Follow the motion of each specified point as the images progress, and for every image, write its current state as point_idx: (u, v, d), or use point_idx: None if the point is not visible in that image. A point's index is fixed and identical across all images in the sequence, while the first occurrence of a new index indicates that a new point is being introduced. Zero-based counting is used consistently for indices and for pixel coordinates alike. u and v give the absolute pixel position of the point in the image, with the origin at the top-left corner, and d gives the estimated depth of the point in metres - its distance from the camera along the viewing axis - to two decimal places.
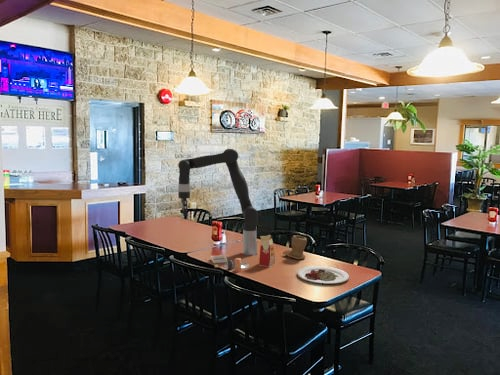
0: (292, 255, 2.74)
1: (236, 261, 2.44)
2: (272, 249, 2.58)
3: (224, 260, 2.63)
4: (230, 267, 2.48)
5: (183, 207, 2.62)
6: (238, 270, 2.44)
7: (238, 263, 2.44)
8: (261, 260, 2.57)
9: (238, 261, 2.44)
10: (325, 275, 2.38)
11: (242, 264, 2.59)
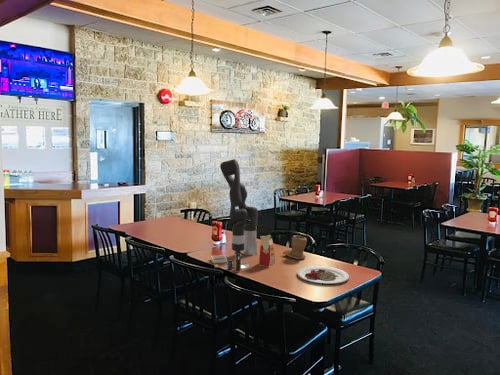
0: (292, 255, 2.74)
1: None
2: (272, 249, 2.58)
3: (224, 260, 2.63)
4: (230, 267, 2.48)
5: None
6: None
7: None
8: (261, 260, 2.57)
9: None
10: (325, 275, 2.38)
11: (242, 264, 2.59)
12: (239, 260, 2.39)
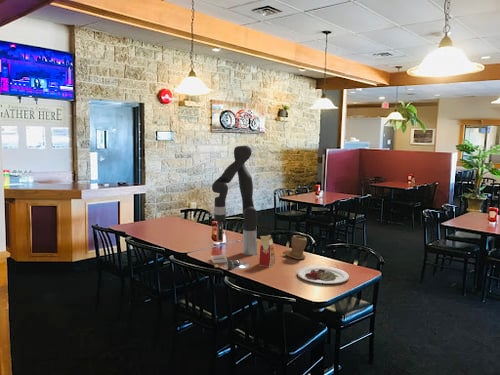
0: (292, 255, 2.74)
1: None
2: (272, 249, 2.58)
3: (224, 260, 2.63)
4: (230, 267, 2.48)
5: None
6: None
7: None
8: (261, 260, 2.57)
9: (220, 231, 2.61)
10: (325, 275, 2.38)
11: (242, 264, 2.59)
12: (221, 229, 2.57)
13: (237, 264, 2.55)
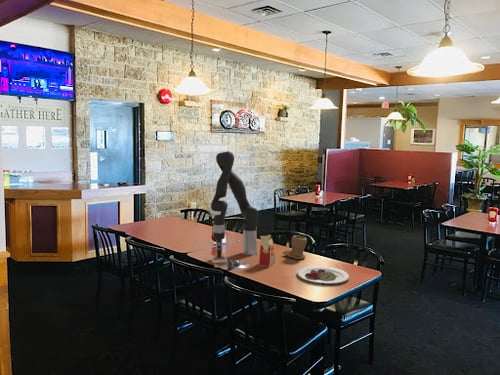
0: (292, 255, 2.74)
1: None
2: (272, 249, 2.58)
3: (224, 260, 2.63)
4: (230, 267, 2.48)
5: None
6: (219, 259, 2.64)
7: None
8: (261, 260, 2.57)
9: None
10: (325, 275, 2.38)
11: (242, 264, 2.59)
12: (220, 246, 2.58)
13: (237, 264, 2.55)
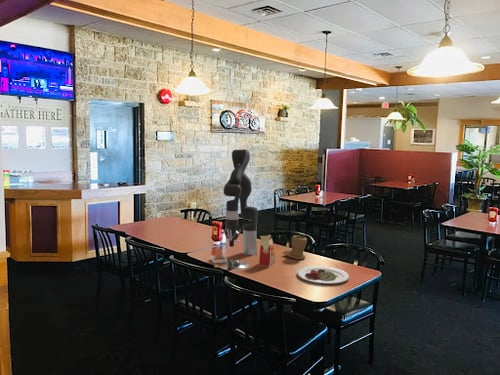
0: (292, 255, 2.74)
1: (217, 250, 2.64)
2: (272, 249, 2.58)
3: (224, 260, 2.63)
4: (230, 267, 2.48)
5: (233, 237, 2.41)
6: (219, 259, 2.64)
7: (219, 252, 2.64)
8: (261, 260, 2.57)
9: (219, 250, 2.64)
10: (325, 275, 2.38)
11: (242, 264, 2.59)
12: None
13: (237, 264, 2.55)
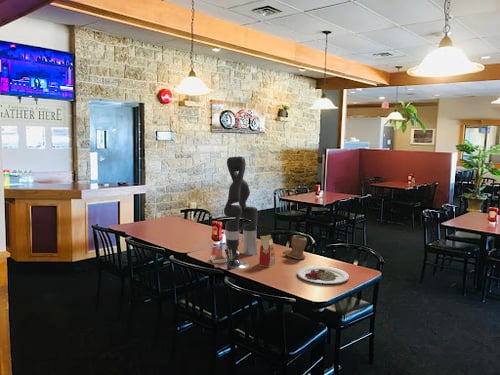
0: (292, 255, 2.74)
1: (217, 250, 2.64)
2: (272, 249, 2.58)
3: (224, 260, 2.63)
4: (229, 267, 2.48)
5: (234, 257, 2.42)
6: (219, 259, 2.64)
7: (219, 252, 2.64)
8: (261, 260, 2.57)
9: (219, 250, 2.64)
10: (325, 275, 2.38)
11: (242, 264, 2.59)
12: None
13: (237, 264, 2.55)
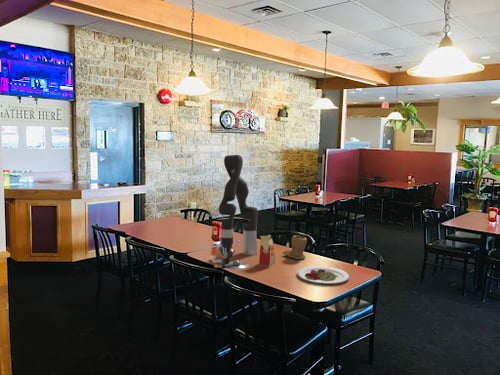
0: (292, 255, 2.74)
1: (217, 250, 2.64)
2: (272, 249, 2.58)
3: None
4: (222, 265, 2.51)
5: (228, 255, 2.46)
6: (219, 259, 2.64)
7: (219, 252, 2.64)
8: (261, 260, 2.57)
9: (219, 250, 2.64)
10: (325, 275, 2.38)
11: (242, 264, 2.59)
12: None
13: (235, 264, 2.55)
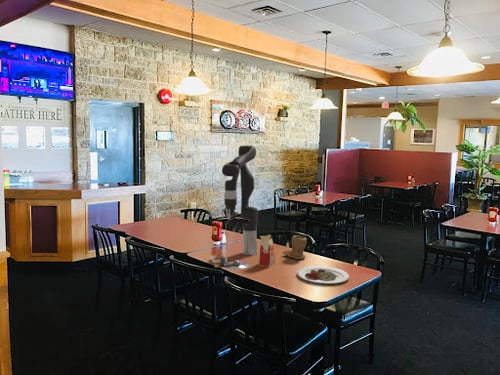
0: (292, 255, 2.74)
1: (217, 250, 2.64)
2: (272, 249, 2.58)
3: None
4: (221, 264, 2.54)
5: (232, 216, 2.46)
6: (219, 259, 2.64)
7: (219, 252, 2.64)
8: (261, 260, 2.57)
9: (219, 250, 2.64)
10: (325, 275, 2.38)
11: (242, 264, 2.59)
12: None
13: (234, 264, 2.55)
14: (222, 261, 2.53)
